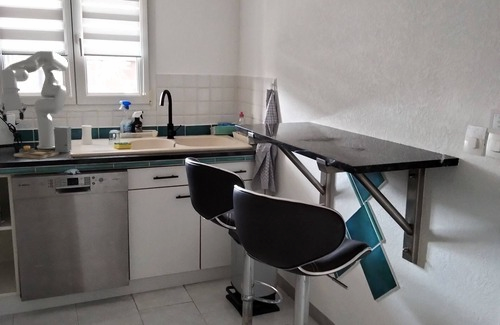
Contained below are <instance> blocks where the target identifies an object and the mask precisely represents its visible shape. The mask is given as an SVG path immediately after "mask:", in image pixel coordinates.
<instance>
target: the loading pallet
mask: <svg viewBox="0 0 500 325" xmlns="http://www.w3.org/2000/svg"><path fill="white" fill-rule="evenodd" d="M18 150H19V152H16V153H14V154H13V157H15V158H24V159H25V158H27V159H35V160H36V159H37V160H38V159H39V160H41V159H46V158H50V157H53V156H58V155H60V152H55V150H50V149H35V148H34V147H33V148H32V147H30V149H29V150H24V148H20V149H18Z"/></svg>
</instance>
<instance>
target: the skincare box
mask: <svg viewBox="0 0 500 325" xmlns="http://www.w3.org/2000/svg"><path fill="white" fill-rule="evenodd" d="M54 137H55V148H54V151H55V152H59V153H70V152H71V151H72V127H71V126H64V125H63V126H62V125H61V126H60V125H59V126H54ZM70 150H71V151H70ZM69 151H70V152H69Z"/></svg>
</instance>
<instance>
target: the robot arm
mask: <svg viewBox="0 0 500 325" xmlns="http://www.w3.org/2000/svg"><path fill="white" fill-rule="evenodd" d="M68 66H69V65H68V62H67V60H66V58H65V57H63V56H61V55H60V54H58V53H56V52H54V51H51V50H50V51H49V50H48V51H43V50H40V51H39V50H38V51H36V52H34V53H33V54H32V55H31V56H28V58H26V59H22V60H19V61H16V62H14V63H12V64H10V65H8V66H7V67H5V68H3V69H1V71H0V74H1V83H2V84H1V85H2V92H3V93H1V97H0V98H1V99H0V100H1V102H0V103H1V104H0V114H1V117H2V121H3V122H8V116H7V112H12V111H14V112H15V111H18V112H19V113H18V114H19V120H21V121H23V120H24V117H25V115H24V113H25V112H26V110H27V107H28V105H27V104H26V103H23V102H22V100H21V99H22V98H21V95H20V93H19V91H21V90H20V88H18V82H19V83H20V82H25V81H27V80H28V79H29V76H30V75H29V74H30V73H34V72H37V71H38V70H39V69H40V68H42V71H43V74H44V81H43V84H42V87H41V91H40V96H41V97H42V98H41V99H40V98H39V99H37V100H35V102H34V104H33V105H34V106H33V107H34V110H35V115H36V122H37V132H38V145H37V146H36V148H37V149H38V150H51V149H55V134H54V127H55V126H54V118H53V117H52V115H59V114H61V113H62V111H63V109H64V105H65V103H66V99H67V94H68V92H67V88H66V87H65V85H62V84H59V80H60V79H59V77H58V75H57V74H56V72H64V71H66V70H67V69H68Z"/></svg>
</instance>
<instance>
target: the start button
mask: <svg viewBox="0 0 500 325" xmlns="http://www.w3.org/2000/svg"><path fill="white" fill-rule="evenodd" d="M30 148H31V146H30V145H24V146H23V149H24V150H29V149H30Z"/></svg>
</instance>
